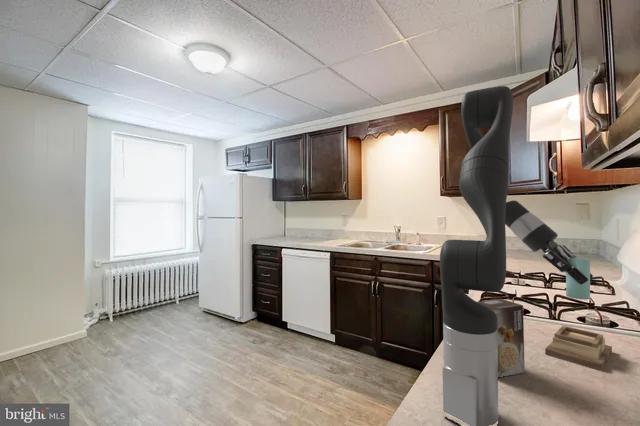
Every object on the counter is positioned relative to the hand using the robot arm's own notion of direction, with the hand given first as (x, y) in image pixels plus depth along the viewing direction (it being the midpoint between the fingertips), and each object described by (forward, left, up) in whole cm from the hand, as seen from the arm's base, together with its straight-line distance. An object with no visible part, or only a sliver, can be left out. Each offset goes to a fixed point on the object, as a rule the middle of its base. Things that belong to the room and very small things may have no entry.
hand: (587, 280), depth 79 cm
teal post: (0, +2, -5) cm, 5 cm away
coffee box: (-24, +12, -20) cm, 33 cm away
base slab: (0, +2, -20) cm, 20 cm away
